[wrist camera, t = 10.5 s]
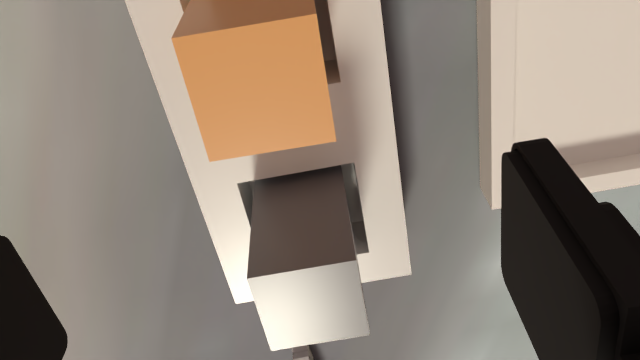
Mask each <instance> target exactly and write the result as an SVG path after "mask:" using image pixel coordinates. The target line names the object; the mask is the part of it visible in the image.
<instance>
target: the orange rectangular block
mask: <svg viewBox="0 0 640 360" xmlns="http://www.w3.org/2000/svg"><path fill="white" fill-rule="evenodd" d="M171 39H172V43H173V46H174V49H175V52H176V55H177V59H178V62H179V65H180V68H181V72H182V75H183V78H184V81H185V85H186V88H187V91H188V94H189V97H190V101H191V104H192V107H193V110H194V114H195V117H196V120H197V123H198V127H199V130H200V133H201V136H202V139H203V143H204V146H205V149H206V152H207V156H208V159H209V162H212V161H218V160H225V159H231V158H237V157H243V156H249V155H256V154H262V153H268V152H274V151H280V150H287V149H293V148H299V147H305V146H311V145H318V144H324V143H330V142H336V135H335V128H334V122H333V116H332V109H331V103H330V96H329V90H328V84H327V77H326V71H325V65H324V58H323V52H322V46H321V39H320V33H319V26H318V20H317V14H316V8H315V2H314V0H190V1H189V3H188V5H187V7H186V9H185V11H184V13H183V15H182V17H181V20H180V22H179V24H178V26H177V28H176V30H175V32H174V34H173V36H172V38H171Z"/></svg>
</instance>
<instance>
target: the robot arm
mask: <svg viewBox="0 0 640 360" xmlns="http://www.w3.org/2000/svg"><path fill="white" fill-rule="evenodd" d="M501 268H502V274H503V278H504V281H505V284H506V286H507V288H508V291H509V293H510V295H511V297H512V300H513V302H514V304H515V306H516V309H517V311H518V313H519V315H520V318H521V320H522V322H523V324H524V327H525V329H526V331H527V333H528V336H529V338H530V340H531V342H532V345H533V347H534V349H535V351H536V354H537V356H538V358H539V360H640V236H639V235H638V233H637V232H636V231H635V230H634V229H633V227H632V226H631V225H630V224H629V222H628V221H627V220H626V219H625V217H624V216H623V215H622V214H621V213H620V211H619V210H618V209H617V208H616V207H615V206H614V205H613V204H611V203H608V202H602V203H598V202H597V200H596V199H595V198H594V197H593V195H592V194H591V193H590V191H589V190H588V189H587V188H586V186H585V185H584V184H583V183H582V181H581V180H580V179H579V177H578V176H577V175H576V174H575V172H574V171H573V170H572V168H571V167H570V166H569V165H568V163H567V162H566V161H565V159H564V158H563V157H562V156H561V154H560V153H559V152H558V150H557V149H556V148H555V147H554V145H553V144H552V143H551V141H550V140H549V139H547V138H540V139H534V140H528V141H522V142H516V143H514V144H513V145H512V148H511V152H505V153H503V154H502V160H501ZM66 348H67V334H66V331H65V329H64V328H63V326H62V324H61V323H60V321H59V319H58V318H57V316H56V315H55V313H54V311H53V310H52V308H51V306H50V305H49V303H48V302H47V300H46V298H45V297H44V295H43V294H42V292H41V290H40V289H39V287H38V285H37V284H36V282H35V281H34V279H33V277H32V276H31V274H30V272H29V271H28V269H27V268H26V266H25V264H24V263H23V261H22V260H21V258H20V256H19V255H18V253H17V251H16V250H15V248H14V247H13V245H12V243H11V242H10V241H9V239H8V238H6V237H5V236H0V360H62V358H63V356H64V354H65V351H66Z"/></svg>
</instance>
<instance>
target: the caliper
mask: <svg viewBox="0 0 640 360" xmlns="http://www.w3.org/2000/svg"><path fill="white" fill-rule="evenodd" d="M291 349H292V352H293V360H314V358H313V355H312V353H311V350H310V347H309V345H305V346H299V347H293V348H291Z"/></svg>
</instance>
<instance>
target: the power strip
mask: <svg viewBox="0 0 640 360" xmlns="http://www.w3.org/2000/svg"><path fill="white" fill-rule="evenodd" d="M189 1H190V0H125V2H126V5H127V8H128V11H129V13H130V16H131V19H132V22H133V24H134V27H135V30H136V33H137V35H138V38H139V41H140V43H141V46H142V49H143V52H144V54H145V57H146V60H147V63H148V65H149V68H150V71H151V74H152V76H153V79H154V82H155V84H156V87H157V90H158V93H159V95H160V98H161V101H162V104H163V106H164V109H165V112H166V115H167V117H168V120H169V123H170V125H171V128H172V131H173V134H174V136H175V139H176V142H177V145H178V147H179V150H180V153H181V156H182V158H183V161H184V164H185V166H186V169H187V172H188V175H189V177H190V180H191V183H192V186H193V188H194V191H195V194H196V197H197V199H198V202H199V205H200V207H201V210H202V213H203V216H204V218H205V221H206V224H207V227H208V229H209V232H210V235H211V238H212V240H213V243H214V246H215V248H216V251H217V254H218V257H219V259H220V262H221V265H222V268H223V270H224V273H225V276H226V279H227V281H228V284H229V287H230V289H231V292H232V295H233V298H234V300H235V303H236V304H238V303H244V302H250V301H254V298H253V296H252V293H251V290H250V287H249V284H248V281H247V270H248V257H249V244H250V231H251V218H252V205H253V192H254V180H259V179H265V178H271V177H276V176H282V175H287V174H293V173H299V172H304V171H310V170H315V169H321V168H327V167H332V166H338V165H341V167H342V173H343V178H344V184H345V189H346V195H347V200H348V206H349V211H350V217H351V223H352V229H353V235H354V241H355V247H356V253H357V259H358V265H359V271H360V277H361V283H363V282H369V281H375V280H381V279H387V278H393V277H399V276H405V275H411V266H410V257H409V249H408V240H407V231H406V222H405V214H404V205H403V196H402V187H401V178H400V170H399V161H398V152H397V143H396V135H395V126H394V117H393V108H392V100H391V91H390V82H389V73H388V64H387V56H386V47H385V38H384V29H383V21H382V12H381V3H380V0H314V2H315V8H316V14H317V20H318V26H319V33H320V39H321V46H322V52H323V58H324V65H325V71H326V77H327V84H328V90H329V96H330V103H331V109H332V116H333V122H334V128H335V135H336V142H330V143H324V144H318V145H311V146H305V147H299V148H293V149H287V150H280V151H274V152H268V153H262V154H256V155H249V156H243V157H237V158H231V159H225V160H218V161H212V162H209V159H208V156H207V152H206V149H205V146H204V143H203V139H202V136H201V133H200V130H199V127H198V123H197V120H196V117H195V114H194V110H193V107H192V104H191V101H190V97H189V94H188V91H187V88H186V85H185V81H184V78H183V75H182V72H181V68H180V65H179V62H178V59H177V55H176V52H175V49H174V46H173V43H172V39H171V38H172V36H173V34H174V32H175V30H176V28H177V26H178V24H179V22H180V20H181V17H182V15H183V13H184V11H185V9H186V7H187V5H188V3H189Z"/></svg>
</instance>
